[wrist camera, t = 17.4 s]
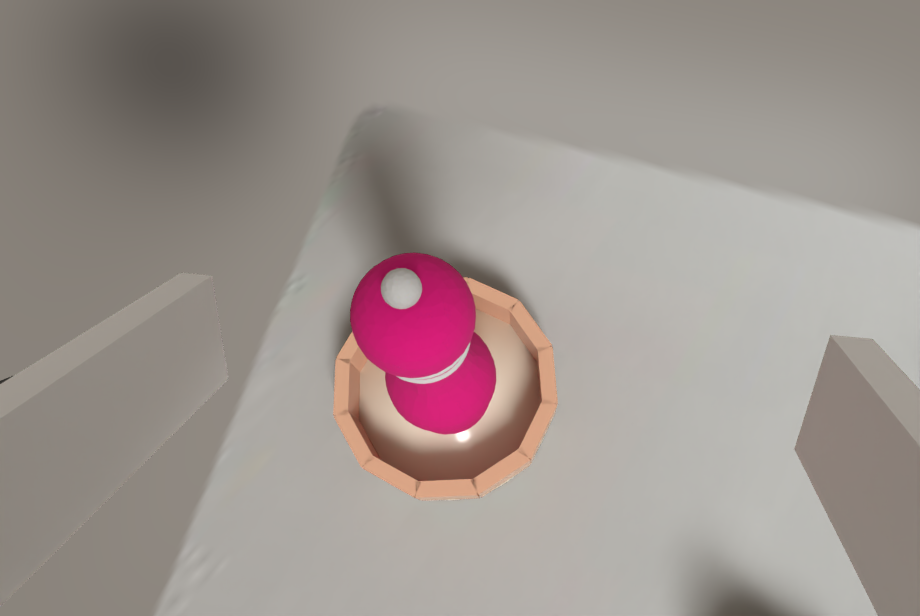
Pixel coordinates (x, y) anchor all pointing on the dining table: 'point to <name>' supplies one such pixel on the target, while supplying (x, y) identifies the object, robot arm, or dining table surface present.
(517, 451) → the terracotta bowl
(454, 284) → the pepper mill
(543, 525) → the dining table surface
